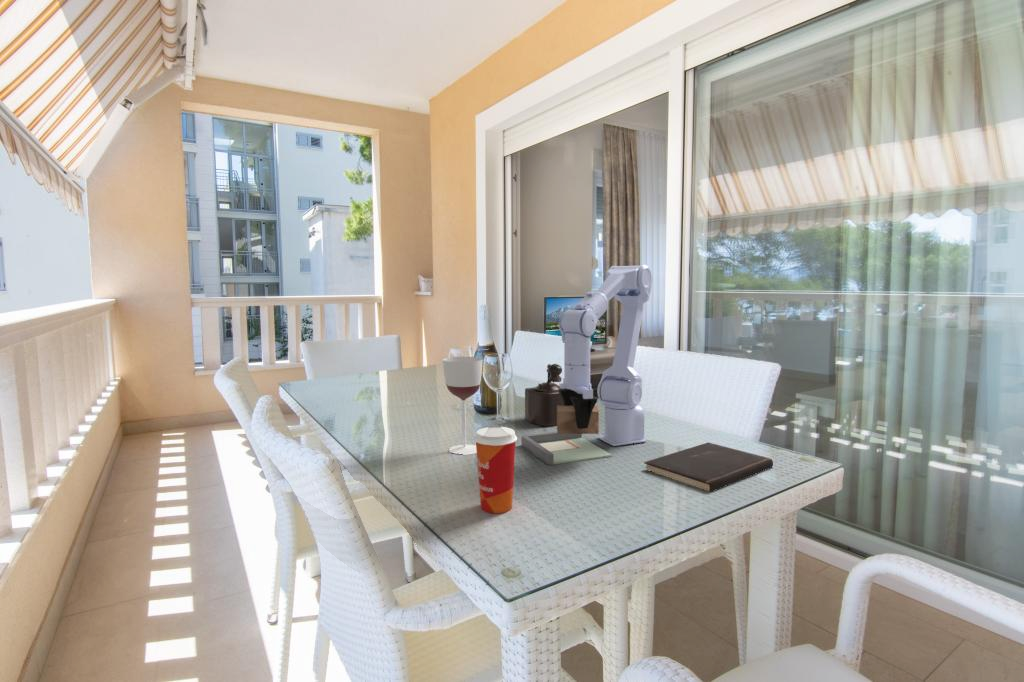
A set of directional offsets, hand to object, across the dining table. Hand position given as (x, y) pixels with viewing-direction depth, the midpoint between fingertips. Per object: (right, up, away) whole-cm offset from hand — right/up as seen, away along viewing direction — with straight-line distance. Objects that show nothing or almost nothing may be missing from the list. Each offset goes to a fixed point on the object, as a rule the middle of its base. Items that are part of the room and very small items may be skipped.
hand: (577, 424), depth 124 cm
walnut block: (0, -1, 0) cm, 1 cm away
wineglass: (-26, -8, +10) cm, 29 cm away
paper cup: (-17, -12, -24) cm, 32 cm away
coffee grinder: (-3, -5, +33) cm, 34 cm away
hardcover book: (+28, -10, -5) cm, 30 cm away
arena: (-2, -8, +8) cm, 11 cm away
